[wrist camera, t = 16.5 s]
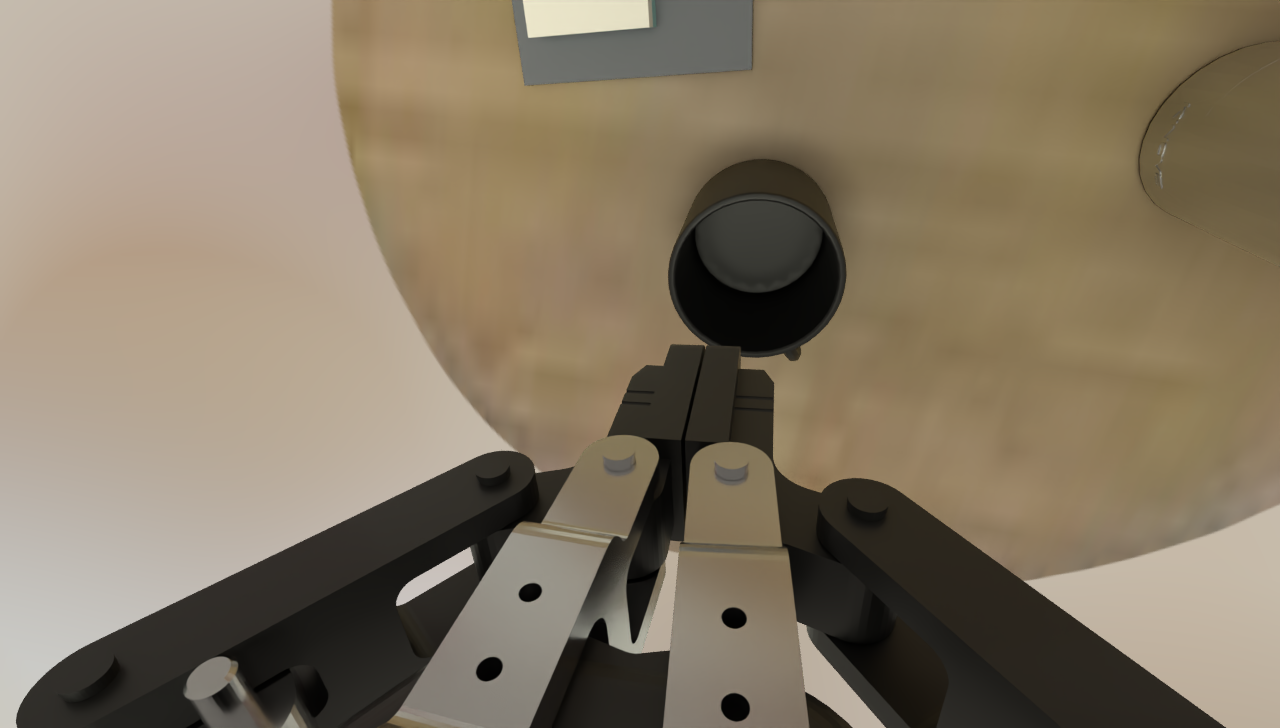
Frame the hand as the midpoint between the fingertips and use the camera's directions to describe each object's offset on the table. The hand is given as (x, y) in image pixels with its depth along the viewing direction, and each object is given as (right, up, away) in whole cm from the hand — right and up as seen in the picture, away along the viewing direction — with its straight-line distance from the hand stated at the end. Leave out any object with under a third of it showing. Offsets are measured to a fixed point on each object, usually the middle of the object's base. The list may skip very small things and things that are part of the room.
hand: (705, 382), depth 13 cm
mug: (+7, +8, +27) cm, 29 cm away
